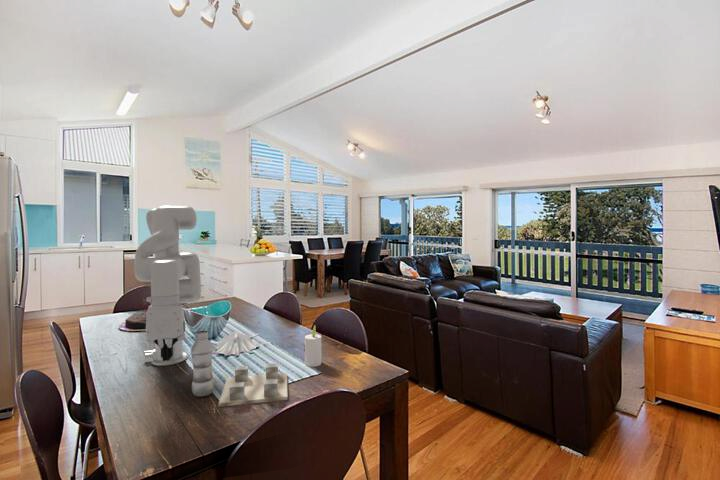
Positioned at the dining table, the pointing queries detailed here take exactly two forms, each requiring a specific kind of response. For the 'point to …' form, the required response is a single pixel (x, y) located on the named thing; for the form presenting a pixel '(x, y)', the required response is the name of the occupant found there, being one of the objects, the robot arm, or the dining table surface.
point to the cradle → (254, 387)
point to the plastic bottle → (202, 365)
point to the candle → (312, 349)
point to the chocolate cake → (135, 322)
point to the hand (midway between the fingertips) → (167, 359)
